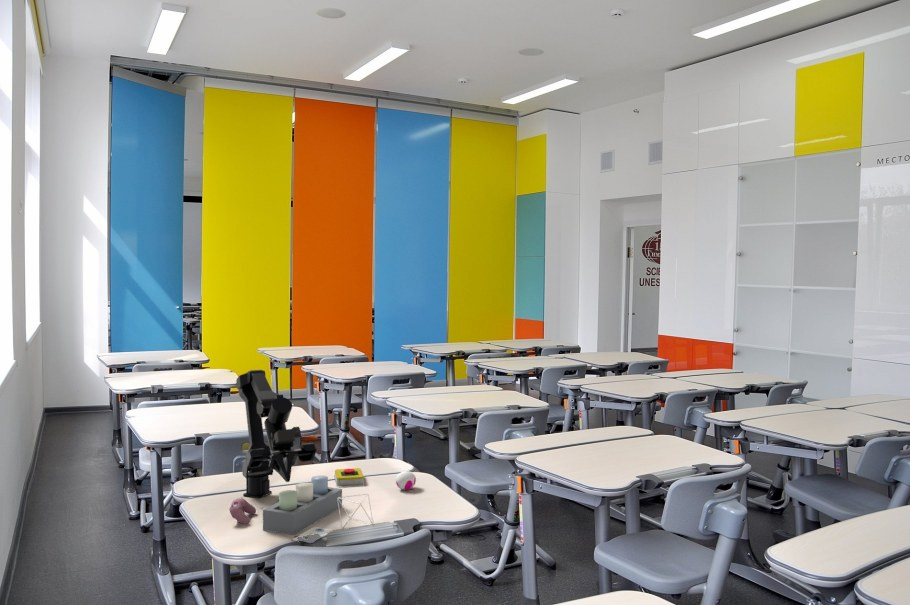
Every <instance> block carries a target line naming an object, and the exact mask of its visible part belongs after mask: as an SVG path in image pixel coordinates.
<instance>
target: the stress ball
mask: <svg viewBox="0 0 910 605" xmlns="http://www.w3.org/2000/svg"><path fill="white" fill-rule="evenodd" d="M416 482H417V479H416V475H415V473H413V472H411V471H409V470H403V471H401V472H399V473H398V474H397V476H396V478H395V484H396V487H397V488H399V489H400V490H403V491H404V490H405V491H407V490H413V491H414V489H413V487H414V486H415V484H416Z"/></svg>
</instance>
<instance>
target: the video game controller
mask: <svg viewBox="0 0 910 605" xmlns="http://www.w3.org/2000/svg"><path fill="white" fill-rule="evenodd" d="M228 510H229V514H230V516H231V517H232V518H233V520H236V521H237V522H238V523H240V524H243V525H250V523H251V518H250V517H249V516H248V515H252V516H253V515H255V514H256V513H257V509H256V508H255V507H254V506H253V504H250V503H249V502H248V501H247V500H246V499H245V498H243V497H240V498H239V497H238V498H236V499H234V500H233V501H232V502H231V504H230V507H229V509H228ZM247 514H248V515H247Z"/></svg>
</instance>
